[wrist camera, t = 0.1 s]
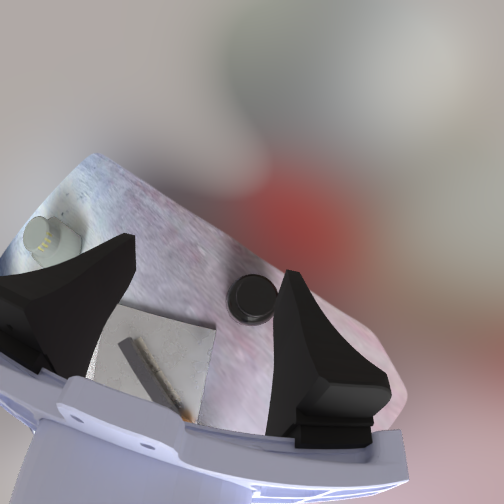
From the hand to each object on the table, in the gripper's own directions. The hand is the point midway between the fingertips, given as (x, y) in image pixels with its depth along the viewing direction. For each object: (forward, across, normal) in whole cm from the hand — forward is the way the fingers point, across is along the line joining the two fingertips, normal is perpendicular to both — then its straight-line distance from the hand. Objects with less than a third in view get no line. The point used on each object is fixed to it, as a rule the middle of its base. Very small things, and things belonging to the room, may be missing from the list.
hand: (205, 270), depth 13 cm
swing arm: (+9, +7, +31) cm, 33 cm away
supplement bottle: (+23, -4, +23) cm, 33 cm away
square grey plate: (+12, +9, +32) cm, 35 cm away
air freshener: (+24, +31, +22) cm, 45 cm away
